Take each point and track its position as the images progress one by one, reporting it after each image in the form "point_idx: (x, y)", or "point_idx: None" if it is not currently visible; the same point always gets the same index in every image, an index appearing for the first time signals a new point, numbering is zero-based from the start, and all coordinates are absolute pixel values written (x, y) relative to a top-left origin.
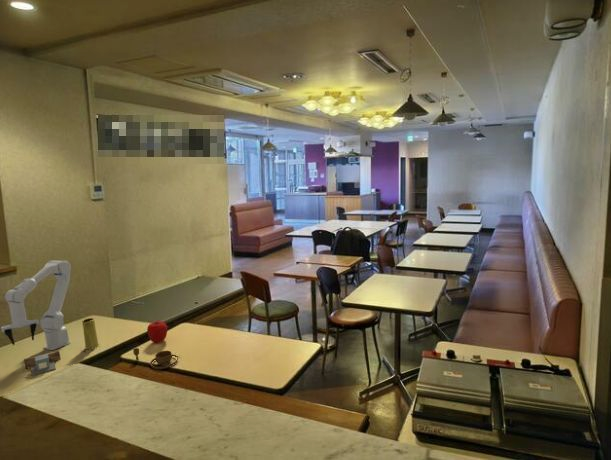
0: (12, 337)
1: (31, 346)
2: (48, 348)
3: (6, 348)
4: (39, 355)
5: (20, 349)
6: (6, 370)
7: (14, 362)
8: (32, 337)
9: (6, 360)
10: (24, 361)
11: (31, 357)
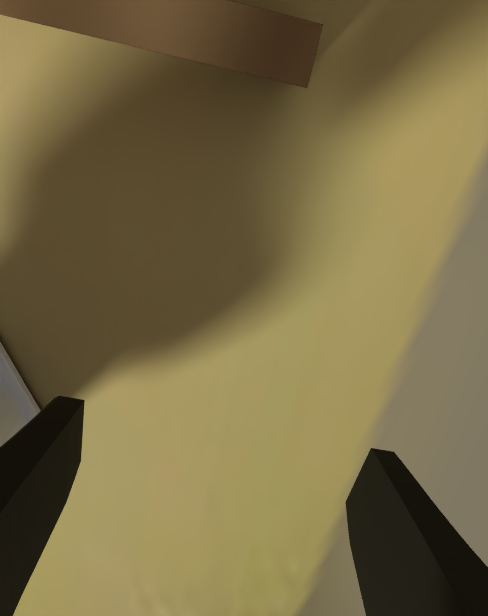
0: (438, 596)
1: (147, 536)
2: (15, 385)
3: (293, 612)
4: (82, 25)
5: (224, 541)
6: (460, 190)
7: (334, 334)
8: (44, 432)
9: (365, 430)
10: (314, 26)
11: (202, 53)
